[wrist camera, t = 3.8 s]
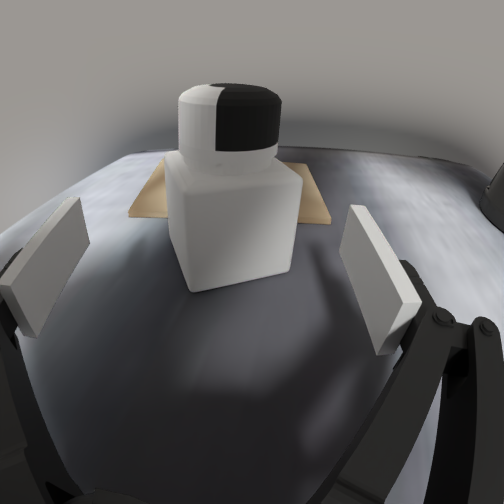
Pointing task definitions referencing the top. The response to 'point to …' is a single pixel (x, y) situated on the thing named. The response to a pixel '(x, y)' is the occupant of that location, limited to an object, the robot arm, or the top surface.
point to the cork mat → (311, 202)
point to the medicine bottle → (230, 187)
